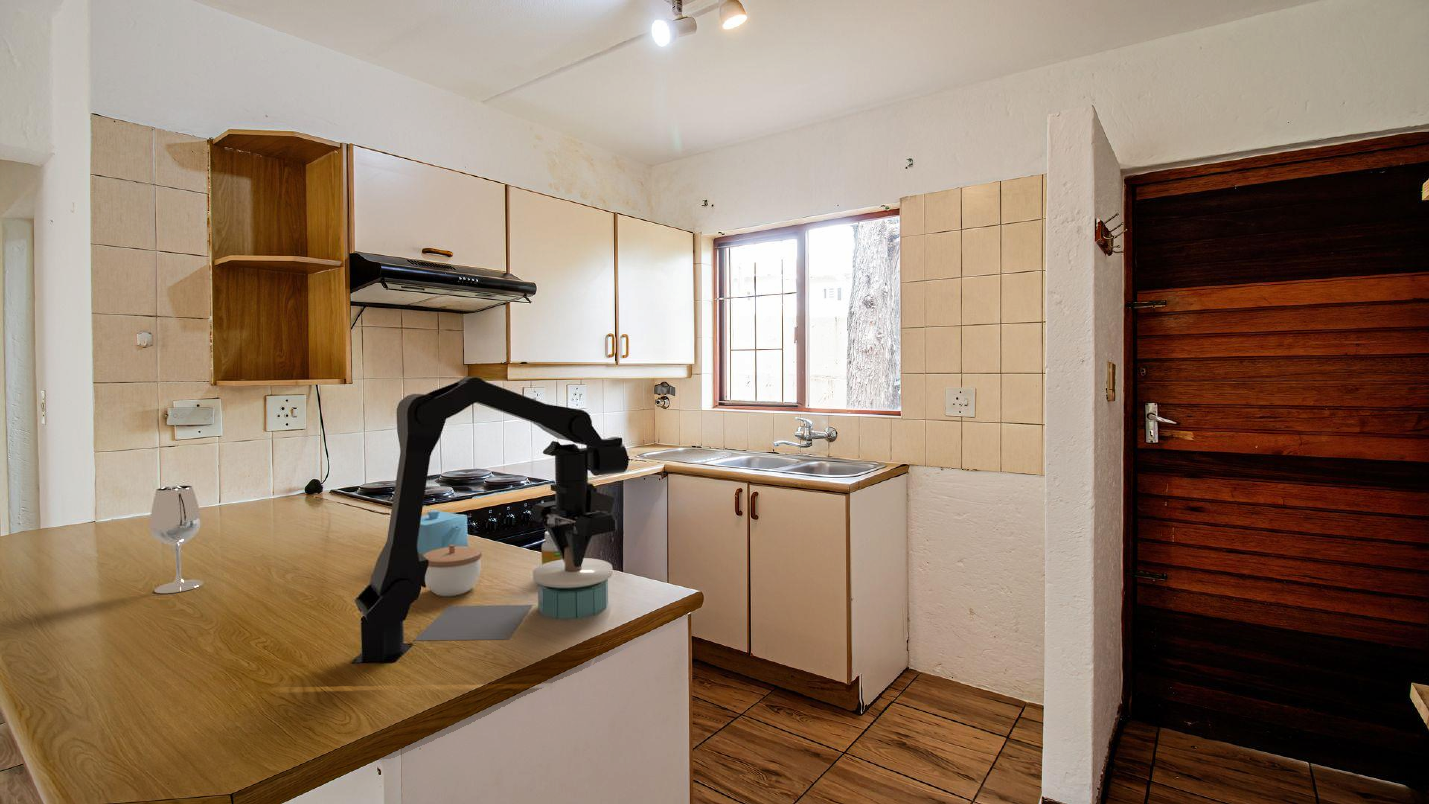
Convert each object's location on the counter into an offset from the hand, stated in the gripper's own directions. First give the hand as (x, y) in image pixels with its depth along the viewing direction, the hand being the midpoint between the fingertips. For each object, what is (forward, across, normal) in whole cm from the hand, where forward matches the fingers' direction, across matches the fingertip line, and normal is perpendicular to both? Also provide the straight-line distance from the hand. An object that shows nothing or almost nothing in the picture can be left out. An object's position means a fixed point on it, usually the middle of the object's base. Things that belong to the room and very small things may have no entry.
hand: (572, 564), depth 118 cm
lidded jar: (+8, +24, +11) cm, 28 cm away
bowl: (+8, 0, 0) cm, 8 cm away
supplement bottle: (+8, +17, -7) cm, 20 cm away
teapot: (+8, +49, +4) cm, 50 cm away
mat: (+8, +6, +16) cm, 18 cm away
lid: (+2, 0, 0) cm, 2 cm away
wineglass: (+8, +67, +47) cm, 83 cm away
